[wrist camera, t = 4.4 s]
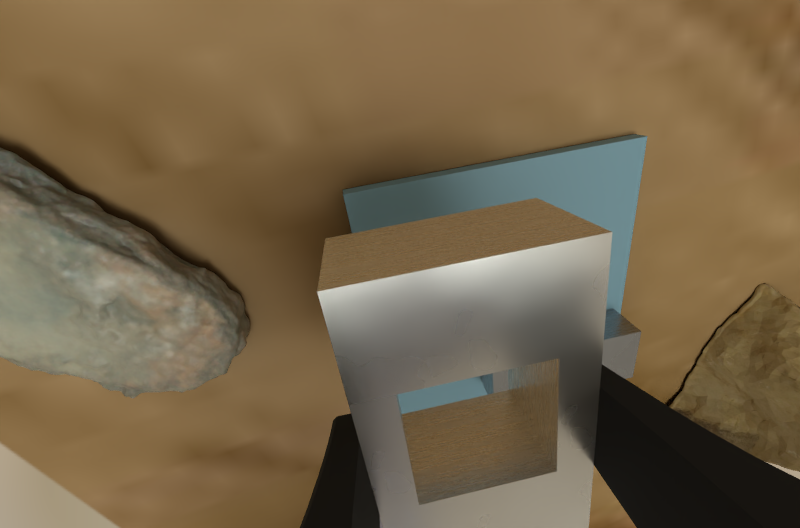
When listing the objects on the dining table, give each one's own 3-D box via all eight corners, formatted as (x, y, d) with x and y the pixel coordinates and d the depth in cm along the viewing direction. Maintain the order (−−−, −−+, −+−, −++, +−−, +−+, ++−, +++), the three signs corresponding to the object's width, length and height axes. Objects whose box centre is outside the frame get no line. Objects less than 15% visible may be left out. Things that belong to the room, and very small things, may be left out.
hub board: (601, 380, 25) (609, 389, 24) (397, 427, 24) (399, 438, 23) (634, 133, 17) (647, 136, 17) (343, 189, 17) (343, 194, 16)
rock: (702, 468, 27) (858, 411, 24) (771, 557, 19) (1016, 487, 16) (611, 341, 29) (745, 273, 26) (639, 373, 21) (836, 280, 18)
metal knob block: (598, 343, 23) (660, 404, 19) (476, 370, 23) (509, 440, 18) (604, 300, 22) (672, 357, 17) (473, 329, 21) (508, 394, 17)
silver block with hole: (536, 197, 10) (612, 232, 7) (538, 441, 13) (588, 527, 11) (325, 238, 9) (317, 292, 7) (386, 477, 13) (396, 576, 10)
